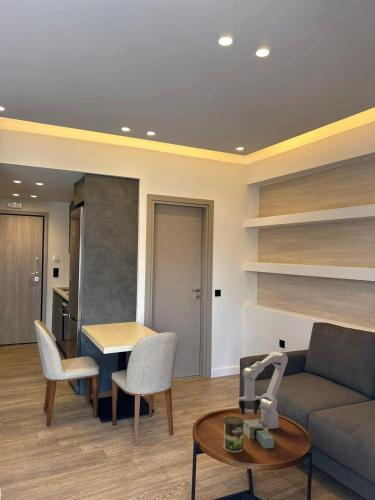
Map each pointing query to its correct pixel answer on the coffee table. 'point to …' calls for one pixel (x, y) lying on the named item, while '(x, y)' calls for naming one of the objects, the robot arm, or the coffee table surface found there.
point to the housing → (253, 427)
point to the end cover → (265, 439)
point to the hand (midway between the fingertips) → (249, 413)
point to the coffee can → (233, 434)
